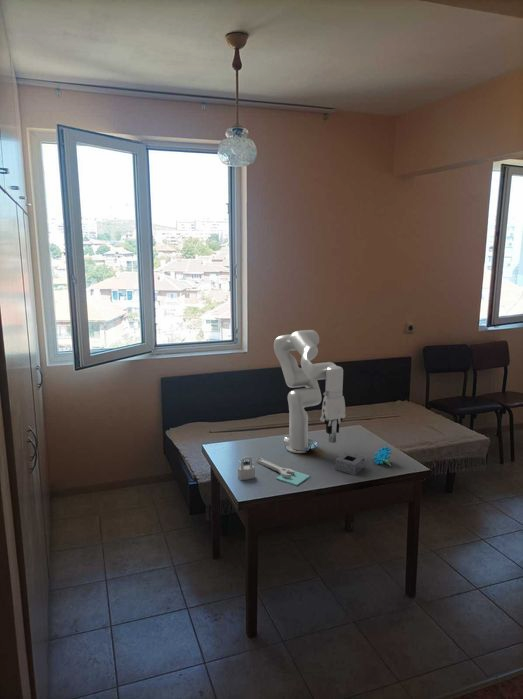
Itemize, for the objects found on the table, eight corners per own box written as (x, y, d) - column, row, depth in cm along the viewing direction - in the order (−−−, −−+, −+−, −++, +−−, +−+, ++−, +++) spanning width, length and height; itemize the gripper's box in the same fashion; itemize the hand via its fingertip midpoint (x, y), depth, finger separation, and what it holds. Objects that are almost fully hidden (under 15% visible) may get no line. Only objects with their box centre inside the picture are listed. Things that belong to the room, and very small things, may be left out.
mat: (276, 479, 220) (276, 477, 220) (289, 470, 228) (289, 469, 228) (297, 485, 213) (297, 484, 213) (310, 476, 222) (310, 475, 222)
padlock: (240, 481, 218) (240, 459, 216) (237, 477, 222) (237, 456, 220) (255, 478, 221) (255, 457, 219) (252, 474, 224) (252, 453, 223)
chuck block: (335, 469, 230) (335, 459, 229) (344, 462, 238) (345, 452, 237) (354, 475, 224) (355, 464, 223) (364, 467, 232) (364, 457, 231)
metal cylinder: (331, 443, 222) (332, 417, 220) (327, 440, 225) (328, 415, 223) (337, 442, 224) (338, 416, 222) (333, 439, 227) (334, 414, 225)
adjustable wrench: (255, 461, 239) (254, 458, 238) (266, 458, 242) (265, 455, 242) (286, 479, 218) (286, 475, 218) (297, 475, 222) (297, 471, 221)
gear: (369, 455, 242) (385, 442, 240) (377, 462, 243) (392, 449, 242) (377, 467, 231) (393, 454, 230) (385, 475, 233) (401, 461, 231)
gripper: (322, 398, 213) (321, 438, 217) (354, 393, 221) (352, 432, 224) (313, 393, 220) (312, 432, 224) (344, 389, 227) (342, 427, 231)
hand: (332, 432), depth 224 cm, fingers closed on metal cylinder, 3 cm apart
